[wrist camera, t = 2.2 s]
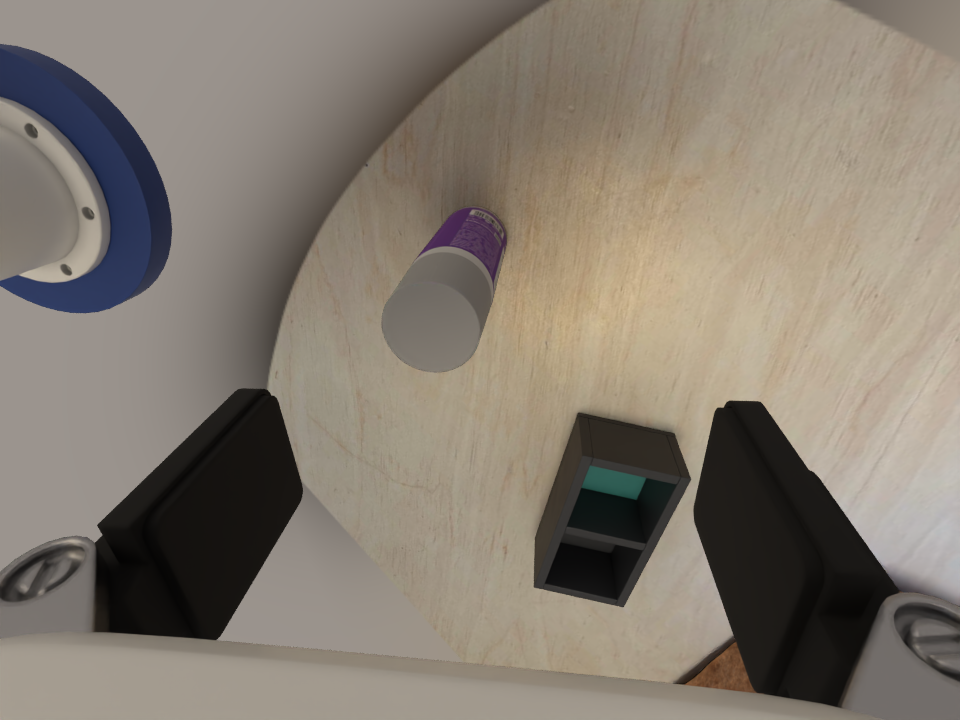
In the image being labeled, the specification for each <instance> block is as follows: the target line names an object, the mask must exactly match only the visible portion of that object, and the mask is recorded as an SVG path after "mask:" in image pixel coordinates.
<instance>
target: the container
mask: <svg viewBox="0 0 960 720" xmlns="http://www.w3.org/2000/svg"><path fill="white" fill-rule="evenodd" d="M506 245H507V236H506V231H505V228H504V226H503V224H502V222H501V221H500V219H499V218H498V217H497V216H496V215H495V214H494V213H492V212H491V211H489V210H487V209H485V208H482V207H478V206H468V207H464V208H461V209H459V210H457V211H455V212H454V213H453V214H452V215H451V216H450V217H449V218H448V219H447V220H446V221H445V223H444V224H443V225H442V226H441V228H440V229H439V230H438V232H437V233H436V234H435V235H434V237H433V238H432V239H431V240H430V242H429V243H428V244H427V246H426V247H425V248H424V249H423V251H422V252H421V253H420V254H419V256H418V257H417V258H416V259H415V261H414V262H413V263H412V265H411V267H410V268H409V270H408V271H407V273H406V274H405V276H404V277H403V279H402V280H401V282H400V283H399V284H398V286H397V287H396V289H395V290H394V292H393V293H392V295H391V296H390V298H389V299H388V301H387V303H386V304H385V307H384V309H383V313H382V331H383V335H384V338H385V340H386V342H387V344H388V346H389V347H390V349H391V350H392V352H393V353H394V354H395V355H396V356H397V357H398V358H399V359H400V360H402V361H403V362H404V363H406V364H408V365H409V366H411V367H413V368H416V369H419V370H422V371H426V372H445V371H450V370H453V369H455V368H458V367H459V366H461V365H463V364H464V363H465V362H467V361H468V360H469V359H470V358H471V357H472V355H473V354H474V352H475V351H476V349H477V346H478V344H479V341H480V338H481V335H482V332H483V329H484V326H485V323H486V319H487V316H488V313H489V310H490V307H491V305H492V301H493V297H494V294H495V290H496V286H497V282H498V278H499V274H500V270H501V266H502V262H503V258H504V254H505V250H506Z"/></svg>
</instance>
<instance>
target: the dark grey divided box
mask: <svg viewBox="0 0 960 720" xmlns="http://www.w3.org/2000/svg"><path fill="white" fill-rule="evenodd" d="M690 481H691V477H690V475H689V472H688V469H687V467H686V464H685V461H684V459H683V456H682V453H681V451H680V448H679V445H678V443H677V440H676V438H675V434H674V433H669V432H664V431H660V430H655V429H651V428H646V427H642V426H637V425H632V424H628V423H623V422H619V421H614V420H609V419H605V418H600V417H596V416H591V415H587V414H582V413H578V415H577V418H576V421H575V423H574V426H573V429H572V432H571V435H570V438H569V441H568V444H567V447H566V450H565V452H564V455H563V458H562V461H561V464H560V467H559V470H558V473H557V476H556V479H555V482H554V484H553V487H552V490H551V493H550V496H549V499H548V502H547V505H546V508H545V511H544V514H543V516H542V519H541V522H540V525H539V528H538V531H537V534H536V537H535V557H534V588H539V589H544V590H548V591H553V592H557V593H562V594H566V595H571V596H575V597H579V598H584V599H588V600H593V601H597V602H602V603H606V604H611V605H616V606H620V607H624V605H625V603H626V602H627V600H628V598H629V596H630V594H631V592H632V590H633V588H634V586H635V585H636V583H637V581H638V579H639V577H640V575H641V573H642V571H643V569H644V568H645V566H646V564H647V562H648V560H649V558H650V556H651V554H652V552H653V551H654V549H655V547H656V545H657V543H658V541H659V539H660V537H661V535H662V534H663V532H664V530H665V528H666V526H667V524H668V522H669V520H670V518H671V517H672V515H673V513H674V511H675V509H676V507H677V505H678V503H679V501H680V500H681V498H682V496H683V494H684V492H685V490H686V488H687V486H688V484H689V483H690Z"/></svg>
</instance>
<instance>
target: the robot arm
mask: <svg viewBox="0 0 960 720" xmlns="http://www.w3.org/2000/svg"><path fill="white" fill-rule="evenodd" d="M110 232H111V223H110V216H109V210H108V206H107V203H106V200H105V197H104V194H103V191H102V189H101V187H100V185H99V183H98V181H97V178H96V176H95V174H94V172H93V171H92V169H91V168H90V166H89V165H88V163H87V162H86V160H85V159H84V157H83V156H82V154H81V153H80V152H79V151H78V150H77V149H76V147H75V146H74V145H73V144H72V143H71V142H70V140H69V139H68V138H67V137H66V136H65V135H64V134H62V133H61V132H60V131H59V130H58V129H57V128H56V127H55V126H54V125H53V124H52V123H50V122H49V121H47V120H46V119H45V118H43V117H42V116H40V115H39V114H37V113H36V112H35V111H33V110H31V109H29V108H27V107H25V106H23V105H21V104H19V103H17V102H15V101H12V100H9V99H6V98H3V97H0V281H1V280H4V279H7V278H10V277H13V276H16V275H20V276H23V277H26V278H29V279H33V280H36V281H42V282H49V283H56V282H67V281H70V280H73V279H76V278H79V277H81V276H83V275H85V274H87V273H89V272H91V271H93V270H94V269H95V268H96V267H97V266H98V265H99V264H100V263H101V261H102V260H103V258H104V256H105V255H106V253H107V250H108V246H109V243H110ZM302 494H303V488H302V483H301V479H300V476H299V472H298V469H297V465H296V462H295V458H294V455H293V451H292V448H291V444H290V441H289V437H288V434H287V430H286V427H285V423H284V420H283V416H282V413H281V409H280V406H279V402H278V400H277V398H276V397H275V396H271V394H270V392H269V391H268V390H266V389H238V390H237V391H235V392H234V393H233V394H232V395H231V396H230V397H229V398H228V399H227V400H226V401H225V402H224V403H223V404H222V405H221V406H220V407H219V408H218V409H217V410H216V411H215V412H214V413H213V414H211V415H210V416H209V417H208V418H207V419H206V420H205V421H204V422H203V423H202V424H201V425H200V426H199V427H198V428H197V429H196V430H195V431H194V432H193V433H192V434H191V435H190V436H189V437H188V438H187V439H186V440H185V441H184V442H183V443H182V444H181V445H179V447H177V448H176V449H175V450H174V451H173V452H172V453H171V454H170V455H169V456H168V457H167V458H166V459H165V460H164V461H163V462H162V463H161V464H160V465H159V466H158V467H157V468H156V469H155V470H154V471H153V472H152V473H151V474H149V475H148V476H147V477H146V478H145V479H144V480H143V481H142V482H141V483H140V484H139V485H138V486H137V487H136V488H135V489H134V490H133V491H132V492H131V493H130V494H129V495H128V496H127V497H126V498H125V499H124V500H123V501H122V502H121V503H120V504H118V505H117V506H116V507H115V508H114V509H113V510H112V511H111V512H110V513H109V514H108V515H107V516H106V517H105V518H104V519H103V520H102V521H101V522H100V523H99V524H98V525H97V526H98V528H99V529H100V531H101V533H102V537H100V538H99V539H98V541H96V542H95V543H94V542H93V541H92V540H90V539H89V538H87V537H81V536H71V537H63V538H59V539H57V540H53V541H49V542H47V543H44V544H42V545H40V546H38V547H36V548H33V549H31V550H30V551H28V552H26V553H25V554H23V555H21V556H20V557H18V558H17V559H15V560H14V561H13V562H11V563H10V564H9V565H8V566H6V567H5V568H4V569H3V570H2V571H1V572H0V720H960V607H959V606H957V605H954V604H952V603H949V602H947V601H944V600H942V599H940V598H937V597H934V596H929V595H925V594H920V593H900V591H899V590H898V588H897V587H896V586H895V584H894V583H893V581H892V580H891V578H890V577H889V576H888V574H887V573H886V571H885V570H884V569H883V567H882V566H881V564H880V563H879V562H878V560H877V559H876V557H875V556H874V555H873V553H872V552H871V550H870V549H869V548H868V546H867V545H866V543H865V542H864V540H863V539H862V538H861V536H860V535H859V533H858V532H857V531H856V529H855V528H854V526H853V525H852V524H851V522H850V521H849V519H848V518H847V517H846V515H845V514H844V512H843V511H842V509H841V508H840V507H839V505H838V504H837V502H836V501H835V500H834V498H833V497H832V495H831V494H830V493H829V491H828V490H827V488H826V487H825V486H824V484H823V483H822V481H821V480H820V478H819V477H818V476H817V475H816V474H815V473H814V472H812V471H810V470H808V468H807V467H806V465H805V464H804V462H803V461H802V459H801V458H800V457H799V455H798V454H797V452H796V451H795V449H794V448H793V447H792V445H791V444H790V442H789V441H788V439H787V438H786V437H785V435H784V434H783V432H782V431H781V429H780V428H779V427H778V425H777V424H776V422H775V421H774V419H773V418H772V416H771V415H770V414H769V412H768V411H767V409H766V408H765V406H764V405H763V404H762V403H761V402H758V401H728V402H727V403H726V404H725V406H724V408H717V409H716V411H715V413H714V417H713V422H712V426H711V431H710V435H709V440H708V445H707V449H706V454H705V458H704V463H703V467H702V472H701V476H700V481H699V485H698V490H697V494H696V499H695V503H694V521H695V525H696V528H697V531H698V534H699V537H700V540H701V543H702V545H703V548H704V551H705V554H706V557H707V560H708V563H709V566H710V568H711V571H712V574H713V577H714V580H715V583H716V586H717V589H718V592H719V594H720V597H721V600H722V603H723V606H724V609H725V612H726V615H727V617H728V620H729V623H730V626H731V629H732V632H733V635H734V638H735V640H736V643H737V646H738V649H739V652H740V655H741V658H742V661H743V664H744V666H745V669H746V672H747V675H748V678H749V681H750V683H751V686H752V688H753V689H754V691H755V692H757V693H749V692H741V691H732V690H724V689H715V688H706V687H698V686H689V685H681V684H672V683H663V682H655V681H645V680H635V679H624V678H614V677H604V676H594V675H584V674H574V673H564V672H554V671H543V670H533V669H523V668H513V667H503V666H493V665H482V664H471V663H460V662H450V661H439V660H428V659H418V658H408V657H396V656H386V655H375V654H364V653H353V652H342V651H332V650H320V649H309V648H297V647H286V646H275V645H264V644H252V643H240V642H229V641H218V640H217V639H218V638H219V637H220V636H221V634H222V633H223V631H224V629H225V628H226V626H227V624H228V623H229V621H230V619H231V618H232V616H233V614H234V612H235V611H236V609H237V608H238V606H239V604H240V603H241V601H242V599H243V598H244V596H245V594H246V592H247V591H248V589H249V587H250V585H251V584H252V582H253V581H254V579H255V577H256V576H257V574H258V572H259V571H260V569H261V567H262V566H263V564H264V562H265V561H266V559H267V557H268V556H269V554H270V552H271V550H272V549H273V547H274V545H275V544H276V542H277V540H278V539H279V537H280V535H281V533H282V532H283V530H284V529H285V527H286V525H287V524H288V522H289V520H290V519H291V517H292V515H293V514H294V512H295V510H296V509H297V507H298V505H299V503H300V501H301V498H302ZM758 693H763V694H758Z"/></svg>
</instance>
